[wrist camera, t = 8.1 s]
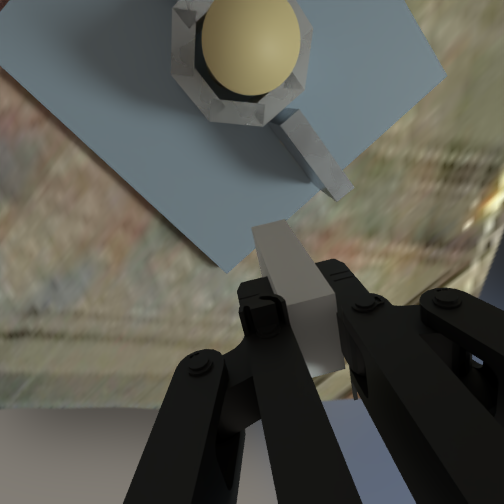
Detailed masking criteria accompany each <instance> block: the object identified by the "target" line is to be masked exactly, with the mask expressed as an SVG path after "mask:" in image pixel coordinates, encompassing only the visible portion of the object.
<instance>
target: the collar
mask: <svg viewBox="0 0 504 504" xmlns="http://www.w3.org/2000/svg"><path fill="white" fill-rule="evenodd" d="M175 1H176V4H175V5H174V6H173V7H172V40H171V75H172V77H173V78H174V79H175V80H176V82H177V83H178V84H179V85H180V86H181V88H182V89H183V90H184V91H185V92H186V94H187V95H188V96H189V97H190V99H191V100H192V101H193V102H194V103H195V105H196V106H197V107H198V108H199V110H200V111H201V112H202V113H203V114H204V116H205V117H206V118H207V119H208V120H209V121H210V122H220V123H230V124H240V125H250V126H260V127H263V126H264V125H266V124H268V125H269V126H270V128H271V129H272V130H273V132H274V133H275V134H276V136H277V137H278V138H279V140H280V141H281V142H282V144H283V145H284V146H285V148H286V149H287V150H288V152H289V153H290V154H291V156H292V157H293V158H294V160H295V161H296V162H297V164H298V165H299V166H300V168H301V169H302V170H303V171H304V173H305V174H306V175H307V177H308V178H309V179H310V181H311V182H312V183H313V185H314V186H316V187H317V188H318V189H320V190H321V191H322V192H324V193H325V194H327V195H328V196H329V197H331V198H332V199H334V200H335V201H336V202H337V201H338V200H339V199H341V198H342V197H343V196H344V195H346V194H347V193H348V192H349V191H351V190H352V189H353V188H354V186H353V185H352V183H351V182H350V181H349V179H348V178H347V176H346V175H345V173H344V172H343V171H342V169H341V168H340V166H339V165H338V163H337V162H336V161H335V159H334V158H333V156H332V155H331V153H330V152H329V151H328V149H327V148H326V146H325V145H324V143H323V142H322V141H321V139H320V138H319V136H318V135H317V133H316V132H315V131H314V129H313V128H312V126H311V125H310V123H309V122H308V121H307V119H306V118H305V116H304V115H303V113H302V112H301V111H300V109H294V108H285V107H286V106H287V105H288V104H290V103H291V102H292V101H293V100H294V99H295V98H296V97H298V96H299V95H300V94H301V93H302V92H303V91H304V90H305V85H306V78H307V71H308V63H309V56H310V49H311V42H312V35H313V27H312V25H311V23H310V22H309V20H308V19H307V17H306V15H305V14H304V12H303V11H302V9H301V7H300V6H299V4H298V3H297V1H296V0H287V1H288V2H289V4H290V5H291V7H292V9H293V10H294V13H295V15H296V17H297V20H298V24H299V29H300V51H299V55H298V59H297V62H296V64H295V67H294V68H293V70H292V72H291V74H290V75H289V76H288V78H287V79H286V80H285V81H284V82H283V83H282V84H281V85H280V86H278V87H277V88H275V89H274V90H272V91H270V92H267V93H264V94H260V95H254V96H253V97H251V98H250V99H249V100H248V101H247V102H238V101H229V100H220V99H219V98H218V97H217V96H216V94H215V93H214V92H213V90H212V89H211V88H210V87H209V85H208V84H207V83H206V82H205V80H204V79H203V78H202V76H201V75H200V74H199V73H198V71H197V70H196V69H195V68H194V66H195V41H196V36H197V35H198V34H199V33H200V32H201V31H202V29H203V23H204V20H205V16H206V14H207V12H208V9H209V8H210V6H211V4H212V3H213V1H214V0H175Z"/></svg>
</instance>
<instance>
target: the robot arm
mask: <svg viewBox="0 0 504 504" xmlns="http://www.w3.org/2000/svg"><path fill="white" fill-rule="evenodd" d="M251 229H252V234H253V238H254V243H255V247H256V251H257V256H258V260H259V265H260V269H261V274H262V278H258V279H254V280H250V281H246V282H242V283H241V284H240V286H239V288H238V290H237V294H238V299H239V304H240V307H239V316H240V320H241V324H242V327H243V331H244V335H245V336H244V338H243V340H242V342H241V343H240V344H239V345H238V346H237V347H236V348H235V349H233V350H231V351H230V352H228V353H226V354H224V355H222V354H221V353H220V352H218V351H216V350H213V349H204V350H199V351H196V352H193V353H191V354H189V355H187V356H186V357H185V358H184V359H183V360H181V361H180V363H179V364H178V366H177V368H176V370H175V372H174V375H173V377H172V380H171V382H170V385H169V387H168V390H167V393H166V395H165V398H164V400H163V403H162V405H161V408H160V410H159V413H158V416H157V418H156V421H155V423H154V426H153V428H152V431H151V433H150V436H149V438H148V442H147V444H146V446H145V449H144V451H143V454H142V456H141V459H140V461H139V464H138V466H137V469H136V472H135V474H134V477H133V479H132V482H131V484H130V487H129V490H128V492H127V494H126V497H125V500H124V502H123V504H236V503H237V495H238V487H239V480H240V472H241V465H242V456H243V449H244V442H245V428H247V427H248V426H250V425H251V424H253V423H255V422H256V421H258V420H260V419H261V420H262V425H263V430H264V435H265V440H266V445H267V450H268V455H269V460H270V464H271V470H272V475H273V480H274V485H275V490H276V494H277V500H278V504H362V501H361V499H360V496H359V494H358V491H357V489H356V486H355V484H354V482H353V479H352V476H351V474H350V471H349V469H348V466H347V464H346V462H345V459H344V457H343V454H342V452H341V449H340V447H339V444H338V442H337V439H336V437H335V434H334V432H333V429H332V427H331V425H330V422H329V420H328V417H327V415H326V412H325V409H324V407H323V405H322V402H321V399H320V397H319V395H318V392H317V390H316V387H315V385H314V382H313V380H312V377H316V376H320V375H324V374H327V373H331V372H335V371H339V370H343V369H345V363H344V357H345V359H346V361H347V363H348V364H349V369H350V377H351V384H352V392H353V397H354V400H357V399H358V397H357V392H358V394H359V396H360V398H361V399H362V401H363V403H364V405H365V407H366V409H367V411H368V413H369V415H370V416H371V418H372V420H373V422H374V424H375V426H376V428H377V429H378V432H379V433H380V435H381V437H382V439H383V441H384V443H385V445H386V447H387V448H388V450H389V453H390V454H391V456H392V458H393V460H394V462H395V464H396V466H397V468H398V470H399V471H400V473H401V475H402V477H403V479H404V481H405V483H406V485H407V486H408V489H409V490H410V492H411V494H412V496H413V498H414V500H415V501H416V504H504V311H503V310H501V309H499V308H497V307H495V306H493V305H491V304H489V303H486V302H484V301H482V300H480V299H478V298H476V297H474V296H472V295H470V294H468V293H466V292H463V291H460V290H458V289H452V288H435V289H432V290H428V291H426V292H425V293H423V294H422V295H421V297H420V299H419V300H420V305H409V306H394V305H392V304H391V303H390V302H389V301H388V300H387V299H386V298H384V297H383V296H381V295H377V294H374V293H369V292H368V291H367V289H366V288H365V287H364V286H363V285H362V284H361V282H360V281H359V280H358V279H357V278H356V277H355V276H354V274H353V273H352V272H351V271H350V269H349V268H348V267H347V266H346V265H345V264H344V263H343V262H340V261H338V260H336V259H330V260H326V261H322V262H318V263H314V262H313V260H312V259H311V257H310V256H309V254H308V253H307V251H306V250H305V248H304V247H303V245H302V244H301V242H300V241H299V240H298V238H297V237H296V235H295V234H294V232H293V231H292V229H291V228H290V226H289V225H288V223H287V222H286V220H285V219H283V220H279V221H275V222H271V223H267V224H262V225H258V226H254V227H251ZM472 354H473V355H474V356H476V357H477V358H479V359H481V360H482V361H483V365H481V364H479V363H477V362H476V361H474V360H472ZM343 355H344V356H343Z"/></svg>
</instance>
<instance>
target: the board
mask: <svg viewBox="0 0 504 504" xmlns="http://www.w3.org/2000/svg"><path fill="white" fill-rule="evenodd" d="M296 1H297V3H298V4H299V6H300V7H301V9H302V11H303V12H304V14H305V15H306V17H307V19H308V20H309V22H310V23H311V25H312V27H313V35H312V42H311V49H310V56H309V63H308V71H307V78H306V85H305V90H304V91H303V92H302V93H301V94H300V95H299V96H298V97H296V98H295V99H294V100H293V101H292V102H291V103H290V104H288V105H287V106H286V107H285V108H294V109H300V111H301V112H302V113H303V115H304V116H305V118H306V119H307V121H308V122H309V123H310V125H311V126H312V128H313V129H314V131H315V132H316V133H317V135H318V136H319V138H320V139H321V141H322V142H323V143H324V145H325V146H326V148H327V149H328V151H329V152H330V153H331V155H332V156H333V158H334V159H335V161H336V162H337V163H338V165H339V166H340V168H341V169H342V170H343V169H344V168H345V167H346V166H347V165H349V164H350V163H351V162H352V161H353V160H354V159H355V158H356V157H357V156H359V155H360V154H361V153H362V152H363V151H364V150H365V149H366V148H368V147H369V146H370V145H371V144H372V143H373V142H374V141H375V140H376V139H378V138H379V137H380V136H381V135H382V134H383V133H384V132H385V131H386V130H388V129H389V128H390V127H391V126H392V125H393V124H394V123H395V122H396V121H398V120H399V119H400V118H401V117H402V116H403V115H404V114H405V113H407V112H408V111H409V110H410V109H411V108H412V107H413V106H414V105H415V104H417V103H418V102H419V101H420V100H421V99H422V98H423V97H424V96H425V95H427V94H428V93H429V92H430V91H431V90H432V89H433V88H434V87H435V86H437V85H438V84H439V83H440V82H441V81H442V80H443V79H444V78H446V77H447V74H446V73H445V71H444V69H443V67H442V66H441V64H440V62H439V60H438V59H437V57H436V55H435V54H434V52H433V50H432V48H431V47H430V45H429V43H428V41H427V40H426V38H425V36H424V34H423V33H422V31H421V29H420V27H419V26H418V24H417V22H416V20H415V19H414V17H413V15H412V13H411V12H410V10H409V8H408V6H407V5H406V3H405V1H404V0H296ZM175 4H176V1H175V0H10V1H9V2H8V3H7V4H6V5H5V7H4V8H3V9H2V10H1V11H0V66H1V67H2V68H3V69H5V70H6V71H7V72H8V73H9V74H10V75H11V76H12V77H13V78H14V79H15V80H17V81H18V82H19V83H20V84H21V85H22V86H23V87H24V88H25V89H26V90H27V91H28V92H30V93H31V94H32V95H33V96H34V97H35V98H36V99H37V100H38V101H39V102H40V103H42V104H43V105H44V106H45V107H46V108H47V109H48V110H49V111H50V112H51V113H52V114H54V115H55V116H56V117H57V118H58V119H59V120H60V121H61V122H62V123H63V124H64V125H65V126H67V127H68V128H69V129H70V130H71V131H72V132H73V133H74V134H75V135H76V136H77V137H79V138H80V139H81V140H82V141H83V142H84V143H85V144H86V145H87V146H88V147H89V148H91V149H92V150H93V151H94V152H95V153H96V154H97V155H98V156H99V157H100V158H101V159H103V160H104V161H105V162H106V163H107V164H108V165H109V166H110V167H111V168H112V169H113V170H114V171H116V172H117V173H118V174H119V175H120V176H121V177H122V178H123V179H124V180H125V181H126V182H128V183H129V184H130V185H131V186H132V187H133V188H134V189H135V190H136V191H137V192H138V193H140V194H141V195H142V196H143V197H144V198H145V199H146V200H147V201H148V202H149V203H150V204H151V205H153V206H154V207H155V208H156V209H157V210H158V211H159V212H160V213H161V214H162V215H163V216H165V217H166V218H167V219H168V220H169V221H170V222H171V223H172V224H173V225H174V226H175V227H177V228H178V229H179V230H180V231H181V232H182V233H183V234H184V235H185V236H186V237H187V238H188V239H190V240H191V241H192V242H193V243H194V244H195V245H196V246H197V247H198V248H199V249H200V250H202V251H203V252H204V253H205V254H206V255H207V256H208V257H209V258H210V259H211V260H212V261H214V262H215V263H216V264H217V265H218V266H219V267H220V268H221V269H222V270H223V271H224V272H226V273H228V272H229V271H230V270H232V269H233V268H234V267H235V266H236V265H237V264H238V263H239V262H240V261H242V260H243V259H244V258H245V257H246V256H247V255H248V254H249V253H250V252H252V251H253V250H254V249H255V248H256V247H255V243H254V238H253V234H252V229H251V227H254V226H258V225H262V224H267V223H271V222H275V221H279V220H283V219H285V220H287V219H288V218H290V217H291V216H292V215H293V214H294V213H295V212H296V211H297V210H298V209H300V208H301V207H302V206H303V205H304V204H305V203H306V202H307V201H308V200H310V199H311V198H312V197H313V196H314V195H315V194H316V193H317V192H318V191H320V189H318V188H317V187H316V186H314V185H313V183H312V182H311V181H310V179H309V178H308V177H307V175H306V174H305V173H304V171H303V170H302V169H301V168H300V166H299V165H298V164H297V162H296V161H295V160H294V158H293V157H292V156H291V154H290V153H289V152H288V150H287V149H286V148H285V146H284V145H283V144H282V142H281V141H280V140H279V138H278V137H277V136H276V134H275V133H274V132H273V130H272V129H271V128H270V126H269V125H268V124H266V125H264V126H263V127H260V126H250V125H240V124H230V123H220V122H210V121H209V120H208V119H207V118H206V117H205V116H204V114H203V113H202V112H201V111H200V110H199V108H198V107H197V106H196V105H195V103H194V102H193V101H192V100H191V99H190V97H189V96H188V95H187V94H186V92H185V91H184V90H183V89H182V88H181V86H180V85H179V84H178V83H177V82H176V80H175V79H174V78H173V77H172V75H171V40H172V7H173V6H174V5H175ZM299 51H300V29H299V24H298V20H297V17H296V15H295V13H294V10H293V9H292V7H291V5H290V4H289V2H288V1H287V0H214V1H213V3H212V4H211V6H210V8H209V9H208V12H207V14H206V16H205V20H204V23H203V29H202V31H201V32H200V33H199V34H198V35H197V36H196V41H195V66H194V68H195V69H196V70H197V71H198V73H199V74H200V75H201V76H202V78H203V79H204V80H205V82H206V83H207V84H208V85H209V87H210V88H211V89H212V90H213V92H214V93H215V94H216V96H217V97H218V98H219V99H220V100H229V101H238V102H247V101H248V100H249V99H250V98H251V97H253V96H254V95H260V94H264V93H267V92H270V91H272V90H274V89H275V88H277V87H278V86H280V85H281V84H282V83H283V82H284V81H285V80H286V79H287V78H288V76H289V75H290V74H291V72H292V70H293V68H294V67H295V64H296V62H297V59H298V55H299Z"/></svg>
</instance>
